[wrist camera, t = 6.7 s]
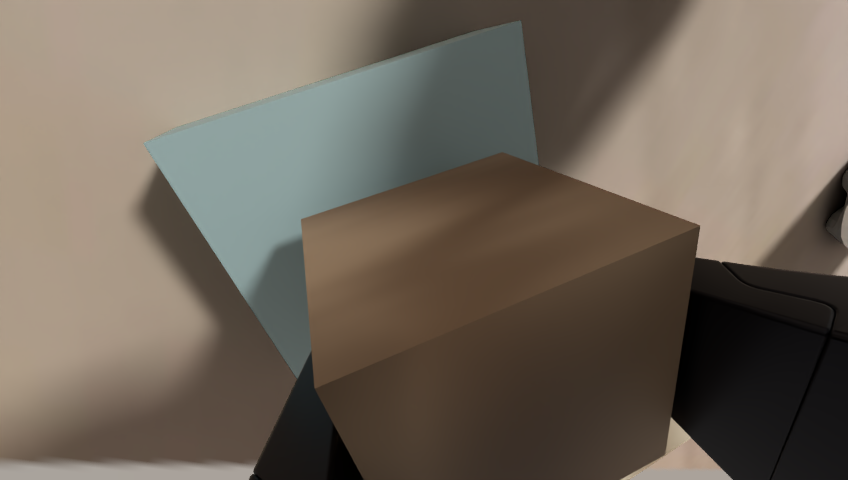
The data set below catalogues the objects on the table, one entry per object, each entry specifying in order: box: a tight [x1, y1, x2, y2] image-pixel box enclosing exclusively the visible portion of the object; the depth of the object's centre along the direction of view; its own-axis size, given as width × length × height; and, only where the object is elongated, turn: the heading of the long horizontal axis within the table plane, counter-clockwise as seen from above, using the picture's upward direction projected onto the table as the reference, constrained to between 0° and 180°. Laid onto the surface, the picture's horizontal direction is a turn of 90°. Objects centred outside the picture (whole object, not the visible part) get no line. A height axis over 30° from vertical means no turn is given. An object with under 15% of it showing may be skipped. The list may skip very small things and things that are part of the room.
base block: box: [143, 20, 539, 379], centre depth 12 cm, size 9×9×3 cm
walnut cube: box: [301, 152, 700, 480], centre depth 8 cm, size 5×5×5 cm
